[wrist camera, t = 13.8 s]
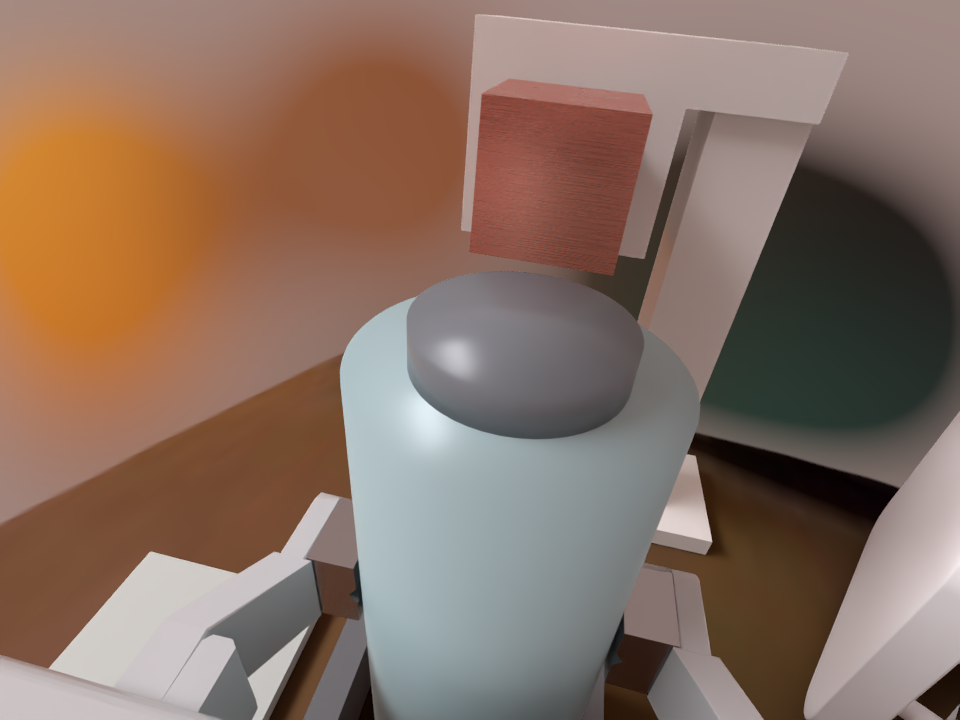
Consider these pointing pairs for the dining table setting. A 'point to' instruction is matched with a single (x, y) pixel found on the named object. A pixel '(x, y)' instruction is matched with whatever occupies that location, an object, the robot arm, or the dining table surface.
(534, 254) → the bolt
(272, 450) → the dining table surface
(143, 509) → the dining table surface
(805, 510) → the dining table surface
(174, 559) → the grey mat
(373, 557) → the pale blue bottle
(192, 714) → the robot arm
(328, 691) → the socket collar
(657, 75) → the stand
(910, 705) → the cable organizer
